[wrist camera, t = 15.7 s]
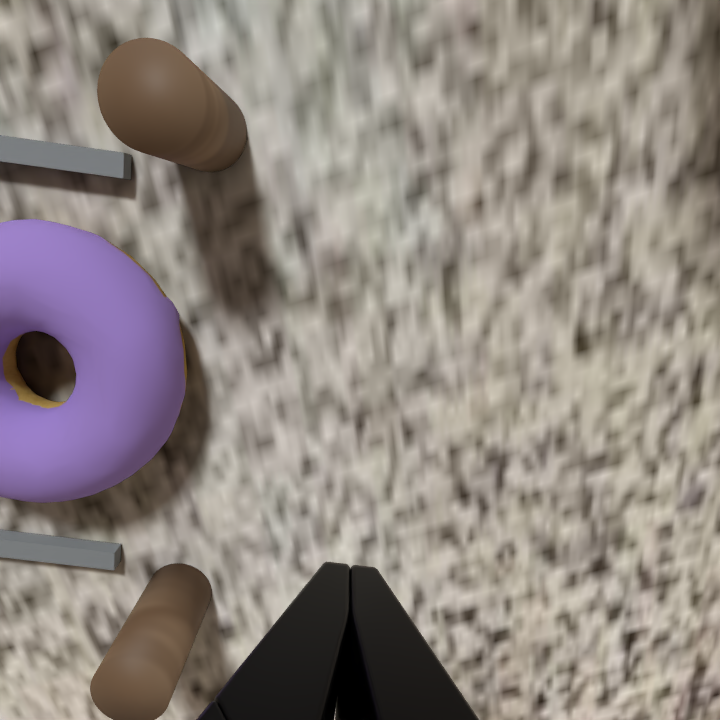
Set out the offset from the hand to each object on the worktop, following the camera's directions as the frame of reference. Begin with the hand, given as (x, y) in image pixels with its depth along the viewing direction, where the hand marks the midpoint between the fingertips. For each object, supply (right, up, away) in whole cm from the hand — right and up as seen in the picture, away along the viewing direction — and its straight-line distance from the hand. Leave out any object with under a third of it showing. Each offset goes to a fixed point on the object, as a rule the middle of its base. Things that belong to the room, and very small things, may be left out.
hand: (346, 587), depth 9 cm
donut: (-11, +4, +12) cm, 16 cm away
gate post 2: (-7, -6, +14) cm, 17 cm away
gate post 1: (-5, +11, +9) cm, 15 cm away
